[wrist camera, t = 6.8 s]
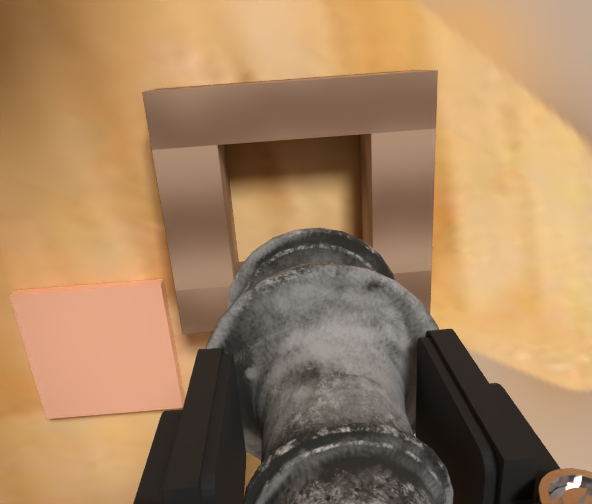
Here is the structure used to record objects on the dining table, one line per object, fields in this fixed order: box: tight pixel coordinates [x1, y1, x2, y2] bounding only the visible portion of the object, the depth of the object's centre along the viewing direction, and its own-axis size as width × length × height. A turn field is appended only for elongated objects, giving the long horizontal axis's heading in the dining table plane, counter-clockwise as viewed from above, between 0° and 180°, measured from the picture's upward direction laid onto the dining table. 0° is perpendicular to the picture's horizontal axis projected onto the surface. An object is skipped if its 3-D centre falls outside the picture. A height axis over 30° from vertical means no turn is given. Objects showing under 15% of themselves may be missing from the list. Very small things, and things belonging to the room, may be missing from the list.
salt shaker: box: [206, 228, 454, 504], centre depth 10 cm, size 6×6×12 cm
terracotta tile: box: [9, 279, 185, 419], centre depth 32 cm, size 9×9×1 cm
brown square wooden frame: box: [142, 70, 438, 334], centre depth 28 cm, size 13×14×4 cm
